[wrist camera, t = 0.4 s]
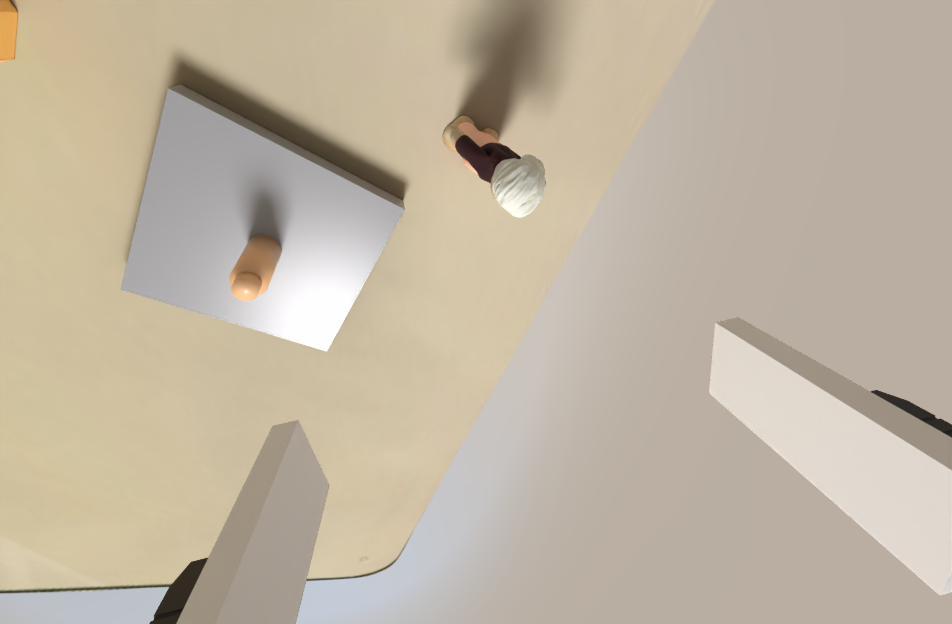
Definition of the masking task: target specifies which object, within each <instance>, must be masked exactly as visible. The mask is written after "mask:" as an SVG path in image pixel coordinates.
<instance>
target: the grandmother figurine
mask: <svg viewBox="0 0 952 624" xmlns="http://www.w3.org/2000/svg"><path fill="white" fill-rule="evenodd" d="M498 140H499V136H498V133H497V132H496V131H495V130H493V129H490V128H485V129H484V130H482V131H478V130H477V128H476V127H475V125H474V122H473V121H472V120H471V119H470V118H469V117H468V116H466V115H462V116H460V117H458V118H457V119H456V120H455V121H454V122H453V123H452V124H451V125H448V126H447V127H446V129H445V131H444V133H443V141H444V144H445V145H446V146H447V147H448V148H449V149H450V150H452V151H457V152H458V153H459V154H460V155H461V156H462V157H463V161H464V164H465V165H466V166H467V167H468V168H469V169H470V170H471V171H472V172H474V173H475V174H477V175H479V177H480V178H481V179H482V180H484V181H487V182H489V183H491V192H492V194H493V196H494V198H495V199H496V201H497V202H498V203H499V204H500V205H501V206H502V207H503V208H504V209H505V210H506V211H508V212H509V213H510V214H512V215H513V216H515V217H524V216H526V215H528V214H530V213H531V212H532V211H533V210H534V209H535V208H536V206H537V205H538V204H539V202H540V200H541V199H542V196H543V192H544V188H545V185H546V181H545V177H544V175H545V169H544V166H543V163H542V162H541V161H540V160H539V159H537V158H536V157H534V156H533V155H524V156H523V157H520V156H519V155H517V154H516V153H515V152H513V151H512V150H511V149H510V148H508V147H507V146H504V145H502V144H501V143H499V142H498Z"/></svg>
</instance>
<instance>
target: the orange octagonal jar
mask: <svg viewBox="0 0 952 624" xmlns="http://www.w3.org/2000/svg"><path fill="white" fill-rule="evenodd" d="M17 16H18V12H17V10H16V9H15V8H14V6H13V5H12V4H11V2H10V1H9V0H0V62H4V61H8V60H13V59H15V58H14V57H15V43H16V30H17Z"/></svg>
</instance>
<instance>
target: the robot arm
mask: <svg viewBox="0 0 952 624" xmlns="http://www.w3.org/2000/svg"><path fill="white" fill-rule="evenodd" d="M709 393H710V394H711V395H712V396H713V397H714V398H715V399H717V400H718V401H719V402H720V403H721V404H722V405H723V406H724V407H726V408H727V409H728V410H729V411H730V412H731V413H732V414H734V415H735V416H736V417H737V418H738V419H739V420H740V421H741V422H743V423H744V424H745V425H746V426H747V427H748V428H749V429H751V430H752V431H753V432H754V433H755V434H756V435H757V436H759V437H760V438H761V439H762V440H763V441H764V442H765V443H767V444H768V445H769V446H770V447H771V448H772V449H773V450H775V451H776V452H777V453H778V454H779V455H780V456H781V457H783V458H784V459H785V460H786V461H787V462H788V463H789V464H791V465H792V466H793V467H794V468H795V469H796V470H797V471H798V472H800V473H801V474H802V475H803V476H804V477H805V478H806V479H808V480H809V481H810V482H811V483H812V484H813V485H815V486H816V487H817V488H818V489H819V490H820V491H821V492H822V493H824V494H825V495H826V496H827V497H828V498H829V499H830V500H832V501H833V502H834V503H835V504H836V505H837V506H839V507H840V508H841V509H842V510H843V511H844V512H845V513H846V514H848V515H849V516H850V517H851V518H852V519H853V520H854V521H855V522H857V523H858V524H859V525H860V526H861V527H862V528H863V529H865V530H866V531H867V532H868V533H869V534H870V535H872V536H873V537H874V538H875V539H876V540H877V541H878V542H879V543H881V544H882V545H883V546H884V547H885V548H886V549H887V550H889V551H890V552H891V553H892V554H893V555H894V556H895V557H897V558H898V559H899V560H900V561H901V562H902V563H903V564H905V565H906V566H907V567H908V568H909V569H910V570H911V571H912V572H914V573H915V574H916V575H917V576H918V577H919V578H921V579H922V580H923V581H924V582H925V583H926V584H927V585H928V586H930V587H931V588H932V589H933V590H934V591H935V592H936V593H938V594H939V595H943V594H947V593H950V592H952V425H951V424H950V423H948V422H946V421H944V420H942V419H937V418H935V415H933V414H931V413H929V412H927V411H926V410H924V409H922V408H920V407H918V406H916V405H914V404H913V403H911V402H909V401H907V400H904V399H901V398H898V397H895V396H892V395H889V394H886V393H883V392H881V391H878V390H875V391H871V392H870V391H868V390H866V389H864V388H863V387H861V386H859V385H857V384H856V383H854V382H852V381H850V380H849V379H847V378H845V377H843V376H841V375H840V374H838V373H836V372H834V371H833V370H831V369H829V368H827V367H825V366H823V365H822V364H820V363H818V362H817V361H815V360H813V359H811V358H810V357H808V356H806V355H804V354H802V353H801V352H799V351H797V350H795V349H793V348H792V347H790V346H788V345H786V344H785V343H783V342H781V341H779V340H777V339H776V338H774V337H772V336H770V335H769V334H767V333H765V332H763V331H762V330H760V329H758V328H756V327H755V326H753V325H751V324H749V323H747V322H746V321H744V320H742V319H740V318H739V317H737V318H733V319H729V320H725V321H720V322H716V323H715V332H714V344H713V355H712V367H711V378H710V389H709ZM328 489H329V484H328V481H327V479H326V477H325V475H324V473H323V471H322V469H321V467H320V465H319V462H318V460H317V458H316V456H315V454H314V452H313V450H312V448H311V446H310V443H309V441H308V439H307V437H306V435H305V433H304V431H303V429H302V426H301V424H300V422H299V420H297V421H292V422H288V423H284V424H279V425H275V426H272V428H271V430H270V433H269V435H268V437H267V439H266V441H265V443H264V445H263V447H262V449H261V451H260V453H259V455H258V457H257V459H256V461H255V463H254V465H253V467H252V469H251V471H250V474H249V476H248V478H247V480H246V482H245V484H244V486H243V488H242V490H241V492H240V494H239V496H238V498H237V500H236V502H235V504H234V506H233V508H232V510H231V512H230V515H229V517H228V519H227V521H226V523H225V525H224V527H223V529H222V531H221V533H220V535H219V537H218V539H217V541H216V543H215V545H214V547H213V549H212V551H211V553H210V555H209V558H205V559H201V560H197V561H193V562H191V563H190V564H189V565H188V566H187V567H186V568H185V570H184V571H183V572H182V573H181V574H180V575H179V577H178V578H177V579H176V580H175V581H174V583H173V584H172V585H171V586H170V587H169V589H168V591H167V592H166V594H165V596H164V598H163V600H162V602H161V604H160V605H159V607H158V609H157V611H156V613H155V615H154V620H153V621H151V622H150V624H296V620H297V616H298V612H299V608H300V604H301V600H302V596H303V591H304V588H305V584H306V579H307V575H308V571H309V567H310V563H311V559H312V555H313V551H314V547H315V542H316V538H317V534H318V530H319V526H320V522H321V518H322V514H323V510H324V506H325V501H326V497H327V493H328Z"/></svg>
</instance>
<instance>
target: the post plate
mask: <svg viewBox="0 0 952 624" xmlns="http://www.w3.org/2000/svg"><path fill="white" fill-rule="evenodd" d="M404 210H405V208H404V202H403V200H401V199H399V198H397V197H395V196H393V195H391V194H389V193H388V192H386V191H384V190H382V189H380V188H378V187H376V186H374V185H372V184H370V183H368V182H367V181H365V180H363V179H361V178H359V177H357V176H355V175H353V174H351V173H349V172H347V171H346V170H344V169H342V168H340V167H338V166H336V165H334V164H332V163H330V162H328V161H326V160H324V159H323V158H321V157H319V156H317V155H315V154H313V153H311V152H309V151H307V150H305V149H303V148H302V147H300V146H298V145H296V144H294V143H292V142H290V141H288V140H286V139H284V138H282V137H280V136H279V135H277V134H275V133H273V132H271V131H269V130H267V129H265V128H263V127H261V126H259V125H258V124H256V123H254V122H252V121H250V120H248V119H246V118H244V117H242V116H240V115H238V114H237V113H235V112H233V111H231V110H229V109H227V108H225V107H223V106H221V105H219V104H217V103H215V102H214V101H212V100H210V99H208V98H206V97H204V96H202V95H200V94H198V93H196V92H194V91H193V90H191V89H189V88H187V87H185V86H183V85H181V84H180V85H177V86H173V87H170V88H168V90H167V94H166V99H165V103H164V107H163V111H162V116H161V120H160V124H159V128H158V133H157V137H156V141H155V145H154V150H153V154H152V158H151V163H150V167H149V171H148V175H147V180H146V184H145V188H144V192H143V197H142V201H141V205H140V209H139V214H138V218H137V222H136V227H135V231H134V235H133V239H132V244H131V248H130V252H129V256H128V261H127V265H126V269H125V273H124V278H123V282H122V286H121V290H124V291H127V292H131V293H134V294H137V295H141V296H144V297H147V298H151V299H154V300H157V301H161V302H164V303H167V304H171V305H174V306H177V307H181V308H184V309H187V310H190V311H194V312H197V313H200V314H204V315H207V316H210V317H214V318H217V319H220V320H224V321H227V322H230V323H234V324H237V325H240V326H244V327H247V328H250V329H254V330H257V331H260V332H264V333H267V334H270V335H274V336H277V337H280V338H284V339H287V340H290V341H294V342H297V343H300V344H304V345H307V346H310V347H314V348H317V349H320V350H323V351H327V350H328V348H329V347H330V345H331V343H332V341H333V339H334V338H335V336H336V334H337V332H338V330H339V328H340V327H341V325H342V323H343V321H344V319H345V317H346V316H347V314H348V312H349V310H350V308H351V307H352V305H353V303H354V301H355V299H356V297H357V296H358V294H359V292H360V290H361V288H362V286H363V285H364V283H365V281H366V279H367V277H368V276H369V274H370V272H371V270H372V268H373V266H374V265H375V263H376V261H377V259H378V257H379V255H380V254H381V252H382V250H383V248H384V246H385V245H386V243H387V241H388V239H389V237H390V235H391V234H392V232H393V230H394V228H395V226H396V225H397V223H398V221H399V219H400V217H401V215H402V214H403V212H404Z"/></svg>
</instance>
